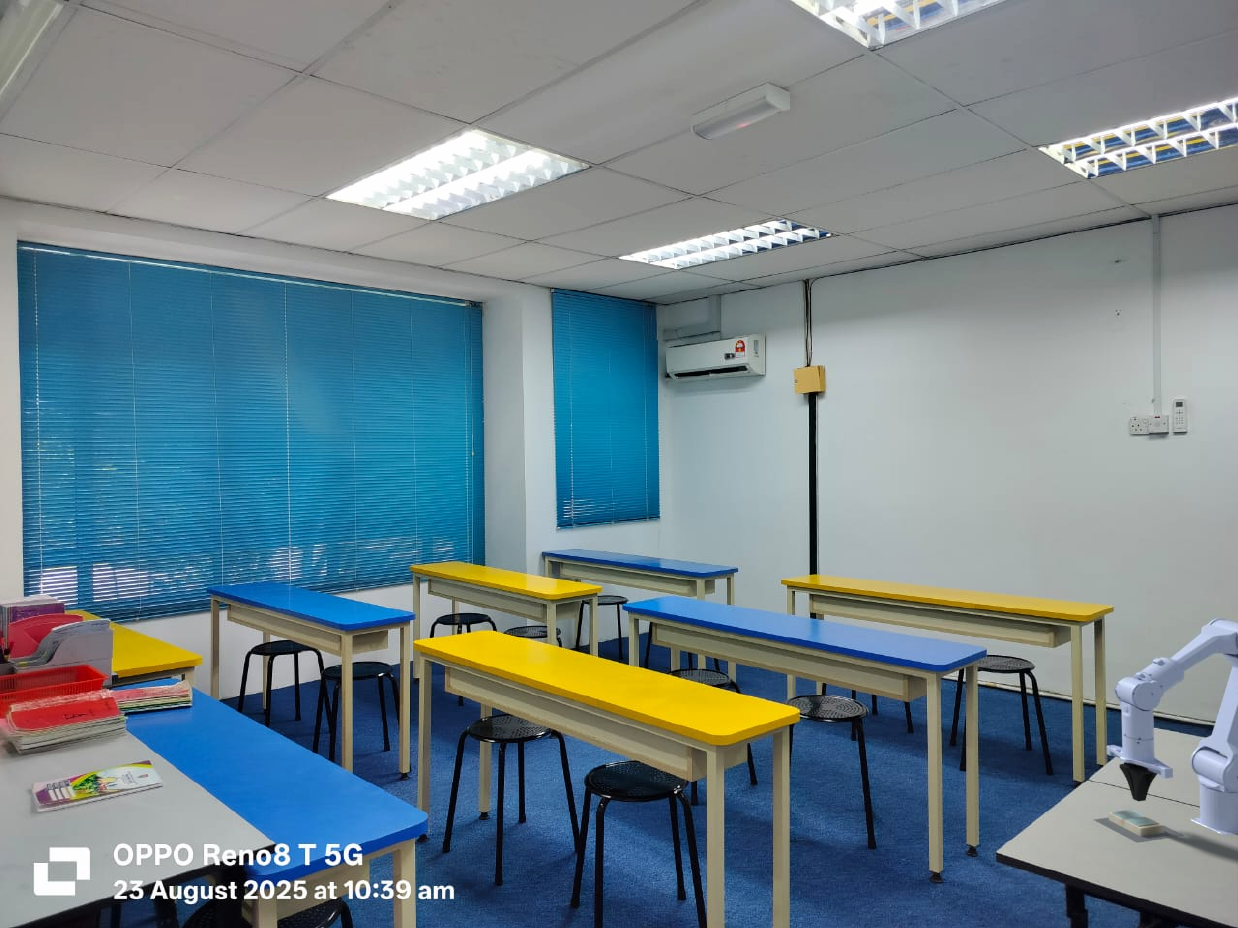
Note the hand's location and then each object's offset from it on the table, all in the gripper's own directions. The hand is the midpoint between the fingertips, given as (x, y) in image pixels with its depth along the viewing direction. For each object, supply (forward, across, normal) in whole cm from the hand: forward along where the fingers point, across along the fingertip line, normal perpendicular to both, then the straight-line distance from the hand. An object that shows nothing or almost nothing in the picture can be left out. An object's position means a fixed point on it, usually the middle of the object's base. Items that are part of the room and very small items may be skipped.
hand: (1139, 799), depth 170 cm
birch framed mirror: (+5, +3, 0) cm, 6 cm away
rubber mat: (+6, 0, 0) cm, 6 cm away
